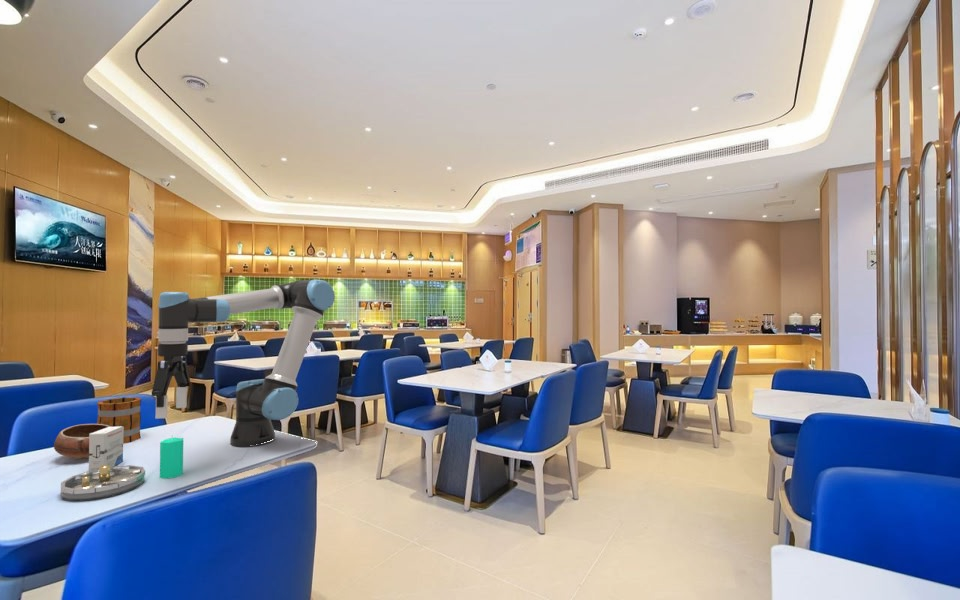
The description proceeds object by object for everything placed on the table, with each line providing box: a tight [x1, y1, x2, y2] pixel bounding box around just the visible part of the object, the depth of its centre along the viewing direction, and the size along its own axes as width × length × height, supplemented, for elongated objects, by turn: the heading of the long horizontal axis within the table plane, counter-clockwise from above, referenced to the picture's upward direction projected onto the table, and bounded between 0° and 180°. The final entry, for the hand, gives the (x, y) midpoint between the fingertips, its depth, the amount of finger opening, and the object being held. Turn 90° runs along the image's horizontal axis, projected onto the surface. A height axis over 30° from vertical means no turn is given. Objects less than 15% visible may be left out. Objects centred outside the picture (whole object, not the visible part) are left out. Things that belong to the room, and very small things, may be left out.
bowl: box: [53, 423, 111, 460], centre depth 153 cm, size 16×16×10 cm
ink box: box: [88, 426, 124, 471], centre depth 144 cm, size 9×5×12 cm, turn 5°
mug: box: [96, 396, 142, 445], centre depth 174 cm, size 20×14×15 cm
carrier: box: [60, 464, 146, 502], centre depth 127 cm, size 18×18×6 cm
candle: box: [159, 436, 184, 479], centre depth 137 cm, size 6×6×12 cm
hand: (171, 412), depth 137 cm, fingers open, 13 cm apart
